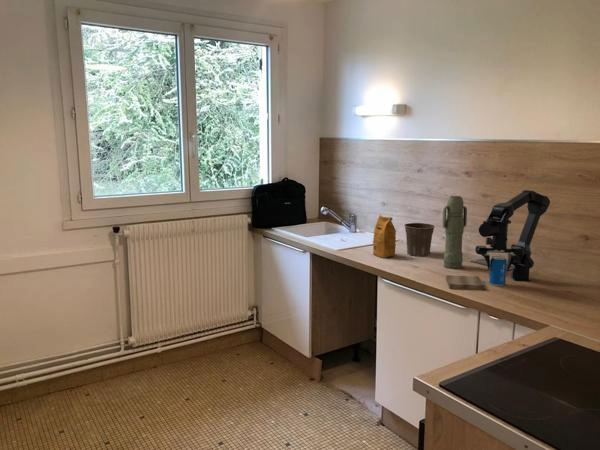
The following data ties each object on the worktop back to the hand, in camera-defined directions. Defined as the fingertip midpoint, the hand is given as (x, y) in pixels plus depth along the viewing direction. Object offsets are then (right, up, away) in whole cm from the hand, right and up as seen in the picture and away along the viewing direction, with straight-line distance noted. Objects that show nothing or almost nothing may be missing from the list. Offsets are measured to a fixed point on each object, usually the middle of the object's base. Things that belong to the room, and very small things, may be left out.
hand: (498, 269), depth 216 cm
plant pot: (-20, +3, +60) cm, 63 cm away
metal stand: (-14, -7, +2) cm, 16 cm away
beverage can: (0, -7, +1) cm, 7 cm away
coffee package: (-40, +2, +57) cm, 70 cm away
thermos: (-10, -1, +32) cm, 33 cm away
